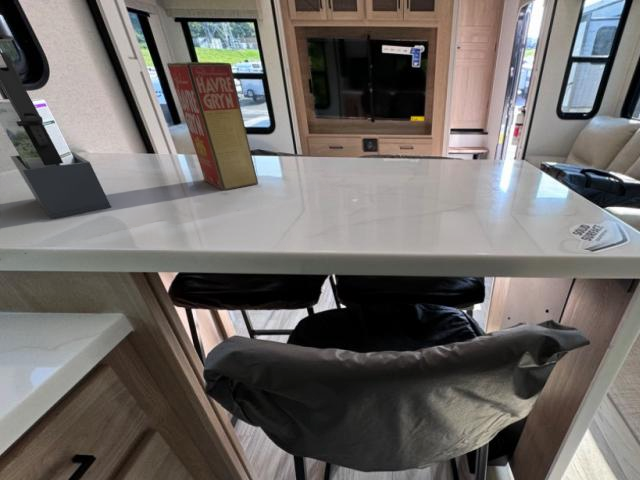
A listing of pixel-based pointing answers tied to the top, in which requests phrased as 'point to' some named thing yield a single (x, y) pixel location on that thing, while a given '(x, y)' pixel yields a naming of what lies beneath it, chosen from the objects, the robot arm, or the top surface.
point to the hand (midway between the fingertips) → (49, 160)
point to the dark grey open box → (65, 187)
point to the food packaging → (215, 122)
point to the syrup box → (7, 117)
